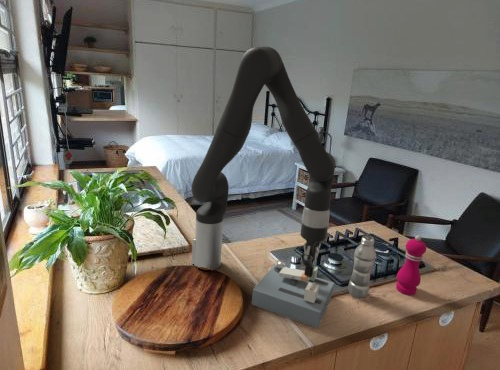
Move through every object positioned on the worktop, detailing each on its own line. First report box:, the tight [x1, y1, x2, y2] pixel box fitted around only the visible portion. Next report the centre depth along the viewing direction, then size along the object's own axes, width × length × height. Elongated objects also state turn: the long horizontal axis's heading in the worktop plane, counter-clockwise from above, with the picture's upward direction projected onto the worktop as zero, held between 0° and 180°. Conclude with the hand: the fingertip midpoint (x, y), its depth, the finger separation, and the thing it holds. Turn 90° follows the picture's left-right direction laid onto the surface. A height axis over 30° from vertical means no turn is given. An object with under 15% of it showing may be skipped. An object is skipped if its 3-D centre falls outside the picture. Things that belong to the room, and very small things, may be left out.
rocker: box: [279, 266, 310, 282], centre depth 108 cm, size 9×5×1 cm, turn 65°
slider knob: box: [304, 282, 319, 303], centre depth 100 cm, size 3×4×4 cm
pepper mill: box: [395, 234, 427, 296], centre depth 115 cm, size 7×7×20 cm
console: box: [251, 264, 335, 329], centre depth 107 cm, size 20×17×6 cm
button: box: [276, 259, 287, 271], centre depth 114 cm, size 3×3×2 cm
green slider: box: [309, 265, 319, 281], centre depth 110 cm, size 3×3×4 cm
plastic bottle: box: [347, 235, 377, 299], centre depth 110 cm, size 6×7×20 cm
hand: (308, 275), depth 106 cm, fingers closed
